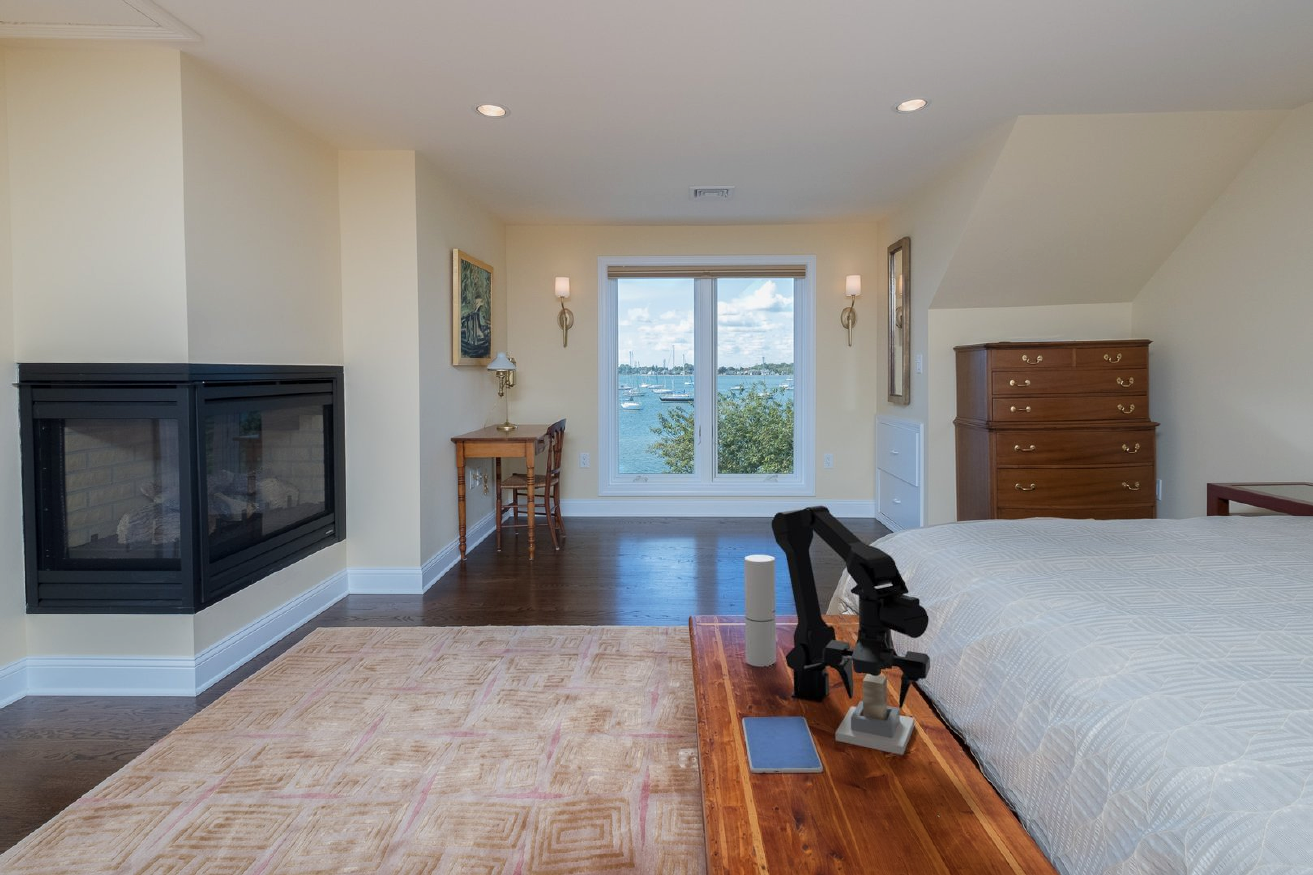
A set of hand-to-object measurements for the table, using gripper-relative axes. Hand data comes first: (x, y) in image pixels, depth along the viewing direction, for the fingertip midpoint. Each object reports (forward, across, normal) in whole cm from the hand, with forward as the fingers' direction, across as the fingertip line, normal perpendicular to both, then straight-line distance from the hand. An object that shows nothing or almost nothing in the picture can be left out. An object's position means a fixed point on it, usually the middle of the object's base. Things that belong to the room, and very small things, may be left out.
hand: (875, 702), depth 134 cm
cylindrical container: (+6, -32, +24) cm, 40 cm away
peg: (+4, 0, 0) cm, 4 cm away
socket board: (+6, 0, 0) cm, 6 cm away
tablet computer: (+7, -15, -12) cm, 20 cm away
